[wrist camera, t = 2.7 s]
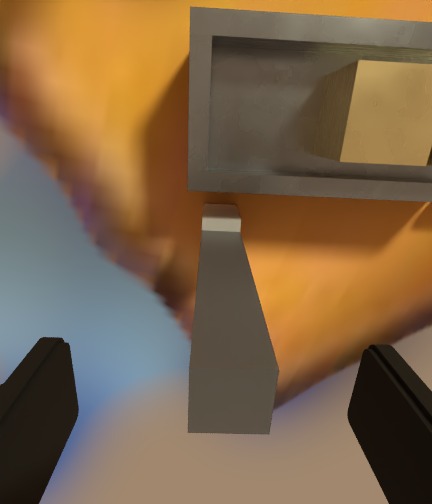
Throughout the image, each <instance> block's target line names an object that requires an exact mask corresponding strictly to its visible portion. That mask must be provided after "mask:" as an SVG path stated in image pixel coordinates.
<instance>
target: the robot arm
mask: <svg viewBox="0 0 432 504" xmlns="http://www.w3.org/2000/svg"><path fill="white" fill-rule="evenodd" d="M78 410H79V409H78V400H77V393H76V387H75V379H74V373H73V365H72V359H71V351H70V345H69V343H64V340H63V339H62V338H54V337H53V338H52V337H43V338H40V339H39V341H38V342H37V343H36V344H35V346H34V347H33V348H32V349H31V350H30V352H29V353H28V354H27V355H26V357H25V358H24V359H23V360H22V362H21V363H20V364H19V365H18V367H17V368H16V369H15V370H14V371H13V373H12V374H11V375H10V376H9V378H8V379H7V380H6V382H5V383H3V384H1V385H0V504H39V502H40V500H41V498H42V496H43V493H44V491H45V489H46V487H47V485H48V482H49V480H50V478H51V476H52V473H53V471H54V469H55V467H56V465H57V462H58V460H59V458H60V456H61V453H62V451H63V449H64V447H65V444H66V442H67V440H68V438H69V436H70V434H71V431H72V429H73V427H74V425H75V422H76V420H77V417H78ZM348 420H349V423H350V426H351V428H352V429H353V432H354V434H355V436H356V438H357V440H358V442H359V444H360V446H361V448H362V450H363V452H364V454H365V456H366V458H367V460H368V462H369V464H370V466H371V468H372V470H373V472H374V474H375V476H376V478H377V480H378V482H379V484H380V486H381V488H382V490H383V492H384V495H385V496H386V499H387V501H388V503H389V504H432V391H431V390H430V389H429V388H428V387H427V386H426V384H425V383H424V382H423V381H422V380H421V379H420V378H419V376H418V375H417V374H416V373H415V372H414V371H413V370H412V368H411V367H410V366H409V365H408V364H407V363H406V362H405V360H404V359H403V358H402V357H401V356H400V355H399V354H398V353H397V351H396V350H395V349H394V348H393V347H392V346H391V345H370V346H369V348H368V349H365V350H364V352H363V355H362V359H361V362H360V366H359V370H358V374H357V378H356V381H355V385H354V389H353V393H352V397H351V400H350V404H349V408H348Z"/></svg>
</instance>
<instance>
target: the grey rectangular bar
mask: <svg viewBox="0 0 432 504" xmlns="http://www.w3.org/2000/svg"><path fill="white" fill-rule="evenodd" d="M240 229H241V217H240V214H239V211H238V208H237V205H229V204H207V203H204V206H203V216H202V234H201V245H200V256H199V267H198V278H197V289H196V300H195V311H194V322H193V333H192V344H191V355H190V366H189V407H188V432H189V433H233V434H269V432H270V426H271V419H272V413H273V406H274V400H275V394H276V387H277V381H278V375H279V368H278V364H277V361H276V357H275V354H274V350H273V347H272V343H271V339H270V336H269V332H268V329H267V325H266V322H265V318H264V315H263V311H262V307H261V304H260V300H259V297H258V293H257V290H256V286H255V283H254V279H253V276H252V272H251V268H250V265H249V261H248V258H247V254H246V251H245V247H244V244H243V240H242V236H241V233H240Z"/></svg>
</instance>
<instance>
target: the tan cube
mask: <svg viewBox="0 0 432 504" xmlns="http://www.w3.org/2000/svg"><path fill="white" fill-rule="evenodd" d="M431 147H432V64H418V63H402V62H385V61H369V60H358V61H355V62H353V63H351V64H349V65H347V66H345V67H343V68H340V69H338V70H336V71H334V72H332V73H330V74H328V75H325V81H324V87H323V94H322V100H321V106H320V113H319V119H318V125H317V132H316V138H315V145H314V151H313V155H315V156H319V157H323V158H327V159H331V160H334V161H338V162H353V163H373V164H392V165H412V166H426V164H427V161H428V157H429V154H430V150H431Z"/></svg>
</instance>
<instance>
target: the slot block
mask: <svg viewBox="0 0 432 504" xmlns="http://www.w3.org/2000/svg"><path fill="white" fill-rule="evenodd" d="M358 60H369V61H385V62H402V63H418V64H432V22H418V21H403V20H388V19H372V18H357V17H342V16H326V15H311V14H296V13H280V12H265V11H250V10H234V9H219V8H204V7H190V57H189V121H188V186H187V191H205V192H226V193H248V194H269V195H291V196H312V197H334V198H355V199H377V200H398V201H420V202H432V166H429V165H426V166H412V165H392V164H373V163H353V162H338V161H334V160H331V159H327V158H323V157H319V156H315V155H313V151H314V145H315V138H316V132H317V125H318V119H319V113H320V106H321V100H322V94H323V87H324V81H325V75H328V74H330V73H332V72H334V71H336V70H338V69H340V68H343V67H345V66H347V65H349V64H351V63H353V62H355V61H358Z"/></svg>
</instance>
